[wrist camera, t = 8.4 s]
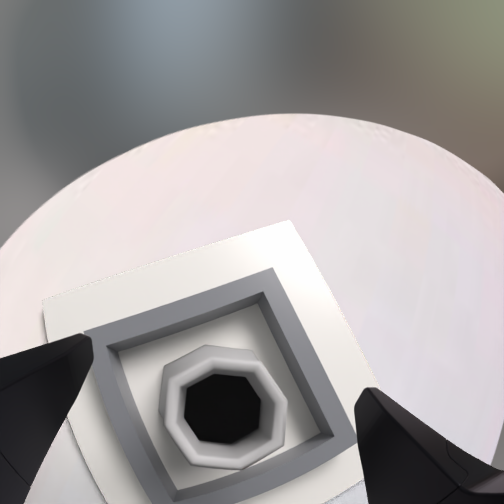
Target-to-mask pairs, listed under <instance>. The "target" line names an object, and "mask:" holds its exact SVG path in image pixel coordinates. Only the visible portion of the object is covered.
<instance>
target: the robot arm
mask: <svg viewBox="0 0 504 504" xmlns="http://www.w3.org/2000/svg"><path fill="white" fill-rule="evenodd" d="M93 361H94V353H93V345H92V339H91V337H90V336H88V335H85V334H83V333H78V334H75V335H72V336H69V337H66V338H63V339H60V340H56V341H53V342H50V343H47V344H44V345H41V346H38V347H35V348H32V349H29V350H25V351H22V352H19V353H16V354H13V355H9V356H6V357H3V358H0V504H24V502H25V499H26V497H27V495H28V492H29V490H30V487H31V485H32V483H33V481H34V479H35V476H36V474H37V472H38V470H39V468H40V466H41V464H42V462H43V460H44V458H45V456H46V454H47V452H48V450H49V448H50V446H51V444H52V442H53V440H54V438H55V436H56V435H57V433H58V431H59V429H60V427H61V425H62V423H63V422H64V420H65V418H66V416H67V414H68V413H69V411H70V409H71V407H72V406H73V404H74V402H75V400H76V399H77V397H78V395H79V392H80V390H81V388H82V386H83V383H84V381H85V379H86V377H87V374H88V372H89V370H90V368H91V366H92V363H93ZM354 416H355V425H356V435H357V444H358V450H359V455H360V460H361V465H362V470H363V475H364V481H365V486H366V492H367V497H368V503H369V504H504V471H503V470H498V469H496V468H494V467H492V466H490V465H488V464H486V463H484V462H483V461H481V460H479V459H477V458H475V457H474V456H472V455H470V454H468V453H467V452H465V451H463V450H462V449H460V448H459V447H457V446H456V445H454V444H453V443H451V442H450V441H449V440H446V438H444V437H443V436H442V435H440V434H439V433H437V432H436V431H435V430H433V429H432V428H430V427H429V426H428V425H426V424H425V423H424V422H422V421H421V420H419V419H418V418H417V417H415V416H414V415H413V414H411V413H410V412H409V411H407V410H406V409H404V408H403V407H402V406H400V405H399V404H398V403H396V402H395V401H394V400H392V399H391V398H390V397H388V396H387V395H386V394H385V393H383V392H382V391H381V390H379V389H378V388H376V387H366V388H364V389H363V391H362V393H361V394H360V396H359V398H358V400H357V401H356V403H355V406H354Z"/></svg>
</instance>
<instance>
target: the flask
mask: <svg viewBox="0 0 504 504" xmlns="http://www.w3.org/2000/svg"><path fill="white" fill-rule="evenodd" d="M287 403H288V400H287V399H286V397H285V396H284V394H283V393H282V391H281V390H280V389H279V387H278V386H277V384H276V383H275V381H274V380H273V378H272V377H271V375H270V374H269V372H268V371H267V369H266V368H265V366H264V365H263V363H262V362H261V361H259V360H258V358H257V357H256V355H255V353H254V352H253V350H248V349H238V348H229V347H221V346H213V345H206V344H205V345H203V346H201V347H199V348H197V349H195V350H193V351H191V352H190V353H188V354H186V355H184V356H182V357H180V358H178V359H176V360H174V361H172V362H170V363H168V364H166V365H164V367H163V375H162V382H161V390H160V399H159V408H158V411H159V413H160V415H161V416H162V418H163V426H164V428H165V429H166V431H167V432H168V434H169V435H170V437H171V438H172V440H173V442H174V443H175V444H176V446H177V447H178V449H179V450H180V452H181V453H182V455H183V456H184V457H185V459H186V460H187V462H188V463H189V464H190V466H196V467H204V468H213V469H224V470H239V471H242V470H244V469H246V468H248V467H249V466H251V465H253V464H255V463H257V462H258V461H260V460H262V459H263V458H265V457H267V456H268V455H270V454H272V453H273V452H275V451H277V450H278V449H280V448H281V447H283V446H284V442H285V430H286V417H287Z"/></svg>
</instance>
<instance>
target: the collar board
mask: <svg viewBox="0 0 504 504" xmlns="http://www.w3.org/2000/svg"><path fill="white" fill-rule="evenodd" d="M42 303H43V312H44V319H45V326H46V333H47V339H48V343H50V342H53V341H56V340H60V339H63V338H66V337H69V336H72V335H75V334H78V333H83V334H85V335H88V336H90V337H91V339H92V345H93V353H94V361H93V363H92V366H91V368H90V370H89V372H88V374H87V377H86V379H85V381H84V383H83V386H82V388H81V390H80V392H79V395H78V397H77V399H76V400H75V402H74V404H73V406H72V407H71V409H70V411H69V413H68V414H67V416H68V419H69V422H70V425H71V428H72V430H73V433H74V435H75V438H76V440H77V443H78V445H79V448H80V450H81V452H82V455H83V457H84V459H85V461H86V463H87V466H88V468H89V470H90V472H91V474H92V476H93V478H94V480H95V482H96V484H97V485H98V487H99V489H100V491H101V493H102V495H103V496H104V498H105V500H106V502H107V503H108V504H323V503H325V502H327V501H329V500H330V499H332V498H334V497H335V496H337V495H339V494H341V493H342V492H344V491H345V490H347V489H349V488H350V487H352V486H353V485H355V484H356V483H358V482H359V481H361V480H362V479H364V475H363V470H362V465H361V460H360V455H359V450H358V444H357V435H356V425H355V416H354V406H355V403H356V401H357V400H358V398H359V396H360V394H361V393H362V391H363V389H364V388H366V387H376V388H378V389H379V390H381V389H380V387H379V385H378V383H377V380H376V378H375V376H374V374H373V372H372V370H371V368H370V366H369V364H368V362H367V360H366V358H365V356H364V354H363V352H362V350H361V348H360V346H359V344H358V342H357V340H356V338H355V336H354V334H353V332H352V330H351V329H350V327H349V325H348V323H347V321H346V319H345V317H344V315H343V313H342V311H341V310H340V308H339V306H338V304H337V302H336V300H335V298H334V297H333V295H332V293H331V291H330V289H329V287H328V286H327V284H326V282H325V280H324V278H323V277H322V275H321V273H320V271H319V270H318V268H317V266H316V264H315V262H314V261H313V259H312V257H311V255H310V254H309V252H308V250H307V248H306V247H305V245H304V243H303V242H302V240H301V238H300V236H299V235H298V233H297V231H296V230H295V228H294V226H293V225H292V223H291V221H290V220H287V221H283V222H280V223H277V224H273V225H270V226H267V227H263V228H260V229H257V230H254V231H250V232H247V233H244V234H240V235H237V236H234V237H231V238H228V239H224V240H221V241H218V242H215V243H211V244H208V245H205V246H202V247H199V248H196V249H192V250H189V251H186V252H183V253H180V254H177V255H174V256H171V257H168V258H164V259H161V260H158V261H155V262H152V263H149V264H146V265H143V266H140V267H137V268H134V269H131V270H128V271H125V272H122V273H119V274H116V275H113V276H110V277H107V278H104V279H101V280H98V281H95V282H92V283H90V284H87V285H84V286H81V287H78V288H75V289H72V290H69V291H67V292H64V293H61V294H58V295H55V296H52V297H50V298H47V299H44V300H42ZM205 344H206V345H213V346H221V347H229V348H238V349H248V350H253V352H254V353H255V355H256V357H257V358H258V360H259V361H261V362H262V363H263V365H264V366H265V368H266V369H267V371H268V372H269V374H270V375H271V377H272V378H273V380H274V381H275V383H276V384H277V386H278V387H279V389H280V390H281V391H282V393H283V394H284V396H285V397H286V399H287V400H288V403H287V417H286V430H285V442H284V446H283V447H281V448H280V449H278V450H277V451H275V452H273V453H272V454H270V455H268V456H267V457H265V458H263V459H262V460H260V461H258V462H257V463H255V464H253V465H251V466H249V467H248V468H246V469H244V470H242V471H239V470H224V469H213V468H204V467H196V466H190V464H189V463H188V462H187V460H186V459H185V457H184V456H183V455H182V453H181V452H180V450H179V449H178V447H177V446H176V444H175V443H174V442H173V440H172V438H171V437H170V435H169V434H168V432H167V431H166V429H165V428H164V426H163V418H162V416H161V415H160V413H159V411H158V408H159V399H160V390H161V382H162V375H163V367H164V365H166V364H168V363H170V362H172V361H174V360H176V359H178V358H180V357H182V356H184V355H186V354H188V353H190V352H191V351H193V350H195V349H197V348H199V347H201V346H203V345H205Z"/></svg>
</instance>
